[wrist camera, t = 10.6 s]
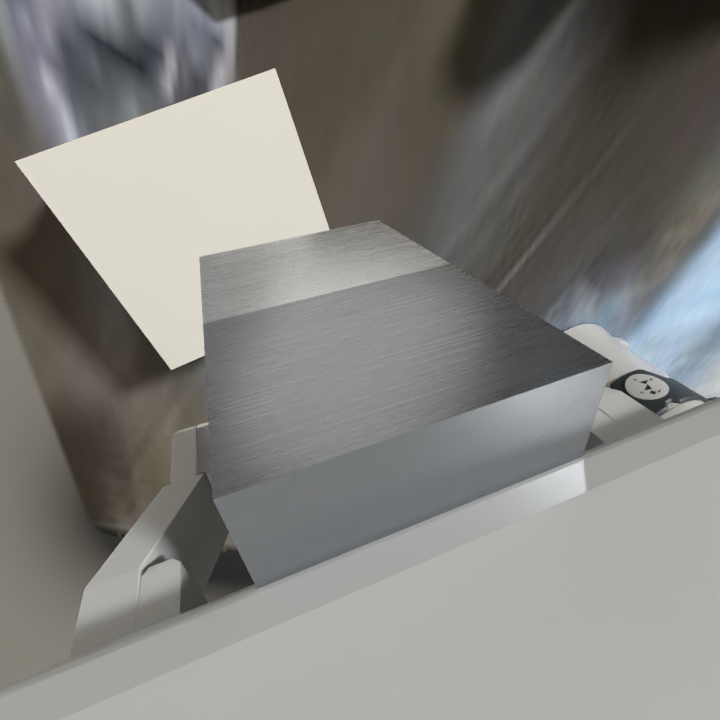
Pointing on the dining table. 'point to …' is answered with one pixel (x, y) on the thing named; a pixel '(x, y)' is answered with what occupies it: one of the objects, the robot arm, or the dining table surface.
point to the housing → (373, 392)
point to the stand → (181, 199)
